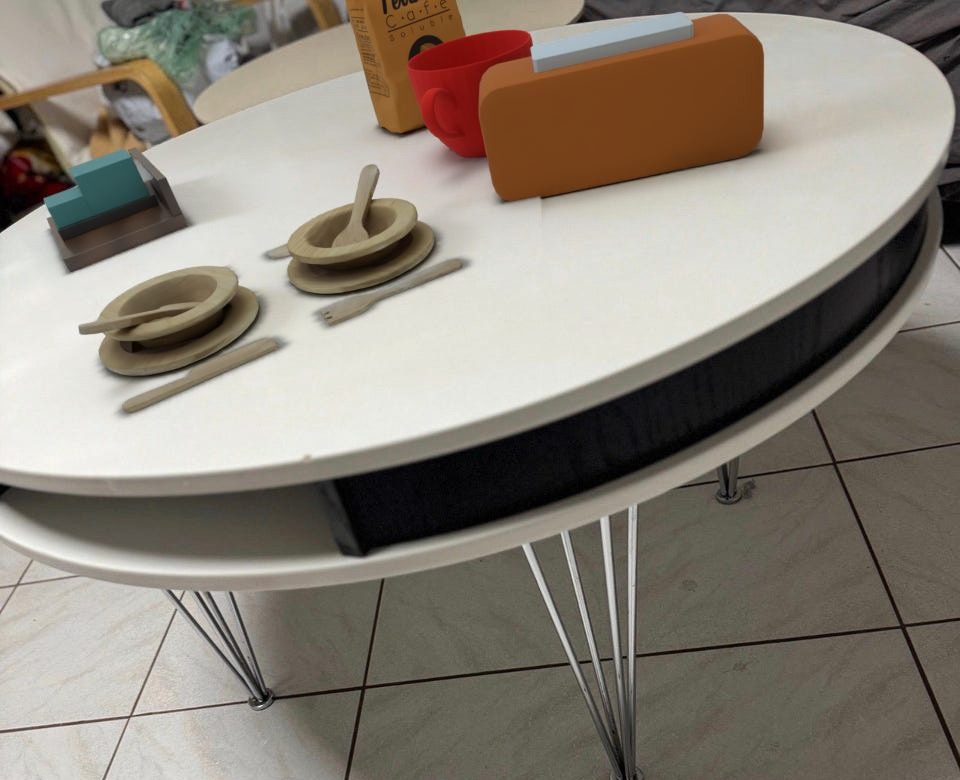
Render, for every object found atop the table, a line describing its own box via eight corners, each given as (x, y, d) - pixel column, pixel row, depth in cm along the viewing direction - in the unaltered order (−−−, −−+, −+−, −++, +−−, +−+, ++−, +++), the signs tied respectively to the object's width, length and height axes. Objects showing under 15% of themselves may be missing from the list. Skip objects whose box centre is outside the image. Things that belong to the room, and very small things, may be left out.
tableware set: (123, 421, 59) (81, 351, 55) (93, 326, 74) (58, 266, 70) (478, 266, 67) (462, 196, 63) (387, 208, 81) (369, 148, 78)
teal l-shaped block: (63, 241, 89) (35, 191, 86) (57, 229, 93) (31, 180, 90) (159, 204, 92) (136, 155, 89) (150, 194, 96) (127, 146, 93)
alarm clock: (742, 125, 78) (740, -8, 71) (764, 154, 72) (765, 11, 65) (496, 176, 82) (472, 54, 75) (496, 208, 75) (470, 78, 68)
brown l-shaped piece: (72, 275, 85) (42, 223, 82) (54, 232, 99) (27, 185, 95) (189, 229, 89) (165, 177, 85) (157, 193, 102) (135, 146, 99)
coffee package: (490, 112, 99) (448, -104, 85) (395, 145, 97) (336, -72, 83) (462, 97, 107) (419, -104, 93) (373, 127, 105) (316, -74, 91)
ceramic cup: (390, 190, 85) (362, 89, 79) (462, 129, 96) (442, 37, 90) (502, 186, 79) (480, 77, 73) (565, 122, 90) (551, 23, 84)
